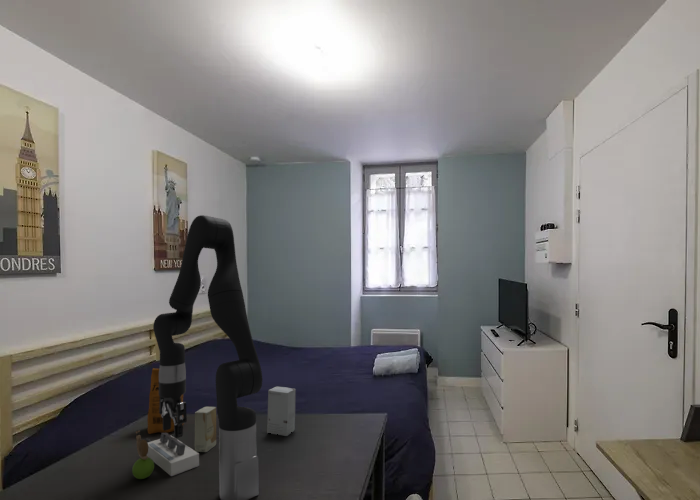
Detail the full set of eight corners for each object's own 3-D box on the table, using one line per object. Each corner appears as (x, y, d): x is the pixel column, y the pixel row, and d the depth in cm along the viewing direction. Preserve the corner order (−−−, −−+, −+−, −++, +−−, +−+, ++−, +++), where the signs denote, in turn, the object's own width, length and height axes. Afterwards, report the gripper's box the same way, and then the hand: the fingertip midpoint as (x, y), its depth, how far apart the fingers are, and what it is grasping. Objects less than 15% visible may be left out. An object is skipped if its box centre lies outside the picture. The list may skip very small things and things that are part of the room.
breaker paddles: (183, 453, 118) (185, 444, 118) (178, 454, 117) (180, 445, 117) (164, 440, 128) (166, 432, 128) (159, 441, 126) (161, 432, 127)
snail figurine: (147, 470, 116) (147, 427, 117) (157, 476, 112) (157, 432, 113) (127, 477, 112) (127, 433, 112) (137, 485, 108) (137, 439, 108)
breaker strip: (199, 465, 118) (198, 453, 118) (171, 476, 112) (171, 462, 112) (158, 437, 139) (158, 426, 139) (133, 445, 133) (133, 433, 134)
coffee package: (151, 425, 151) (151, 365, 152) (187, 422, 153) (186, 363, 154) (143, 435, 141) (143, 372, 142) (181, 432, 143) (180, 369, 145)
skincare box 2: (266, 433, 140) (266, 390, 141) (275, 427, 146) (275, 385, 146) (288, 436, 137) (287, 392, 138) (296, 430, 143) (295, 387, 144)
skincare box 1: (206, 453, 126) (206, 413, 127) (194, 452, 127) (193, 412, 128) (217, 444, 133) (216, 406, 133) (205, 443, 133) (205, 405, 134)
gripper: (195, 380, 120) (195, 435, 119) (175, 372, 130) (175, 423, 129) (169, 385, 115) (169, 444, 114) (150, 377, 125) (150, 430, 124)
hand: (172, 433), depth 122 cm, fingers open, 8 cm apart
